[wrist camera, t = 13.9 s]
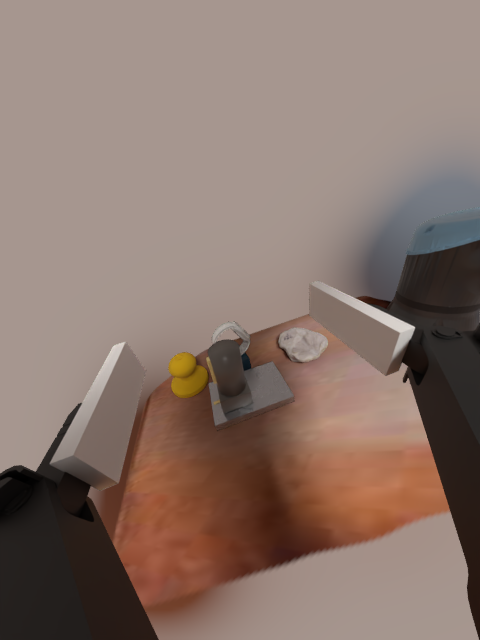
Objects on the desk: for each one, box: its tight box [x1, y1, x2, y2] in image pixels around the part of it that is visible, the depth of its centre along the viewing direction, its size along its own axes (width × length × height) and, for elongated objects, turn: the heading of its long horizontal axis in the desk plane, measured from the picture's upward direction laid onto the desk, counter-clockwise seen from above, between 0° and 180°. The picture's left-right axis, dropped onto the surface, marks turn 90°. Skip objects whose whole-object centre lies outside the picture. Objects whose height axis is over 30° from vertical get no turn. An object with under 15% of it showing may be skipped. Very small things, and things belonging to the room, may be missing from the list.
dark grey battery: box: [206, 340, 253, 413], centre depth 30 cm, size 6×5×11 cm
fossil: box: [278, 328, 328, 362], centre depth 41 cm, size 9×6×10 cm
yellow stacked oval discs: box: [168, 352, 209, 398], centre depth 38 cm, size 8×8×8 cm
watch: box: [212, 321, 251, 371], centre depth 39 cm, size 6×8×11 cm
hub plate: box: [209, 361, 294, 431], centre depth 34 cm, size 14×9×4 cm, turn 105°
